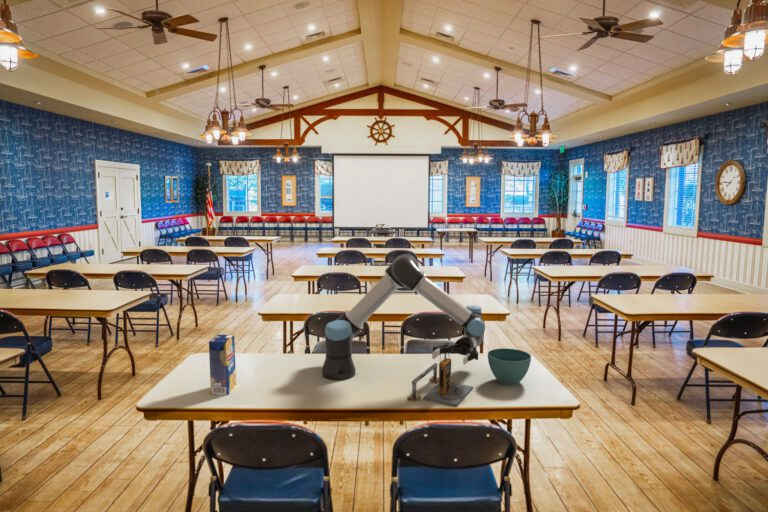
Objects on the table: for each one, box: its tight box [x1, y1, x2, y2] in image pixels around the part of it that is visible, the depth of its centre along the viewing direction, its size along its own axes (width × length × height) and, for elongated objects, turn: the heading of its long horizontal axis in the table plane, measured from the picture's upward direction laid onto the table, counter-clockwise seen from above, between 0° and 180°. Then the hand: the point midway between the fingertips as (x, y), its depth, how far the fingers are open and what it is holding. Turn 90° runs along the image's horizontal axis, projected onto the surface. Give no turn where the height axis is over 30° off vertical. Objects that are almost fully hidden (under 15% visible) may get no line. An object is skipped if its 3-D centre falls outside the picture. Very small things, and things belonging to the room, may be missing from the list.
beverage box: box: [208, 334, 237, 396], centre depth 204 cm, size 7×11×22 cm, turn 0°
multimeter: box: [438, 342, 463, 399], centre depth 199 cm, size 15×10×20 cm
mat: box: [422, 381, 474, 407], centre depth 202 cm, size 14×20×1 cm
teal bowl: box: [487, 348, 532, 386], centre depth 215 cm, size 18×18×12 cm
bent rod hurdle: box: [407, 362, 439, 402], centre depth 206 cm, size 4×26×8 cm, turn 152°
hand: (448, 358), depth 204 cm, fingers open, 13 cm apart
